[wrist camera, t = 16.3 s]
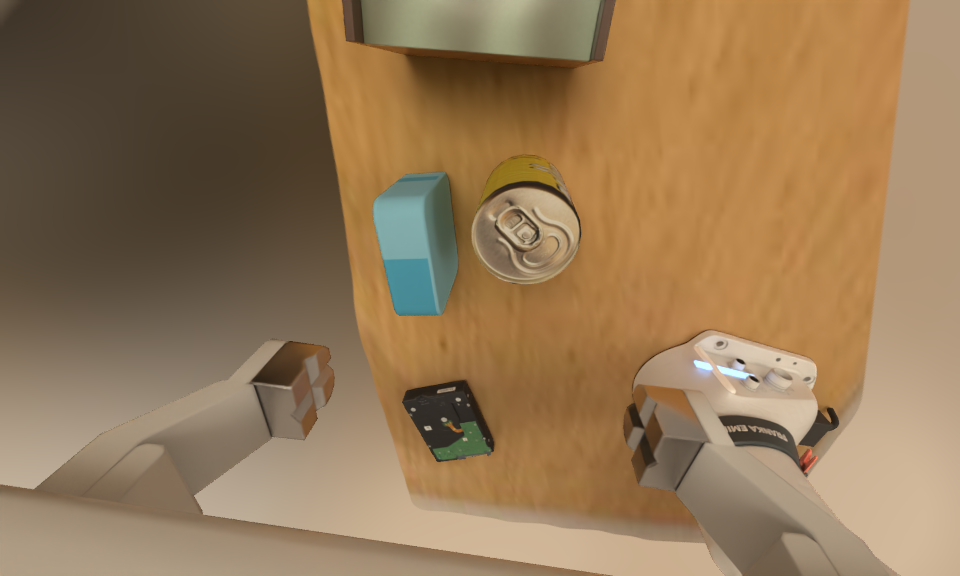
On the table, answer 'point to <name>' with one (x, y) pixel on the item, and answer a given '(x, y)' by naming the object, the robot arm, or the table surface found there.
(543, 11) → the step shelf
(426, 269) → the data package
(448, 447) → the disk drive
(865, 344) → the table surface
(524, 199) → the beverage can
